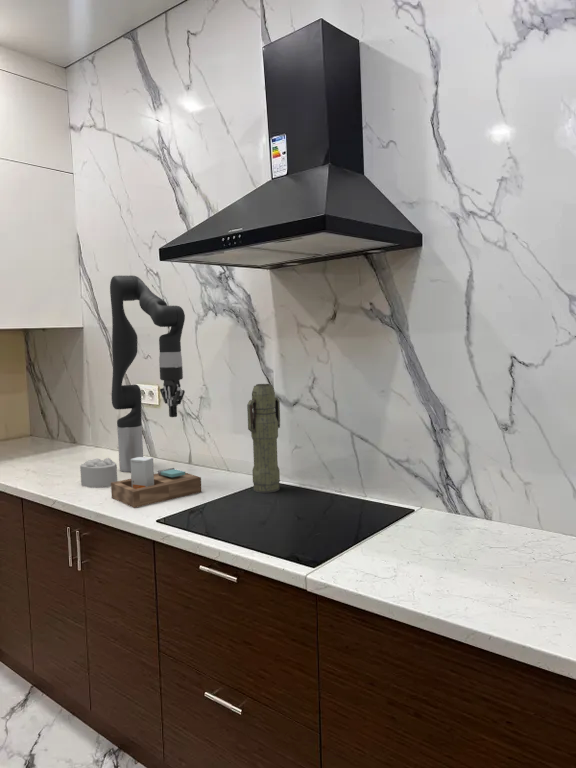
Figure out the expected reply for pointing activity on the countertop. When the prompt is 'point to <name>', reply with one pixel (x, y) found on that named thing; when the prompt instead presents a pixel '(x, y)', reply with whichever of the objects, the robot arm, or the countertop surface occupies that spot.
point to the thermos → (264, 437)
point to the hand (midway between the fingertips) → (173, 416)
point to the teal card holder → (171, 472)
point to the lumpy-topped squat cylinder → (98, 473)
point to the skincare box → (142, 472)
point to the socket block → (156, 490)
